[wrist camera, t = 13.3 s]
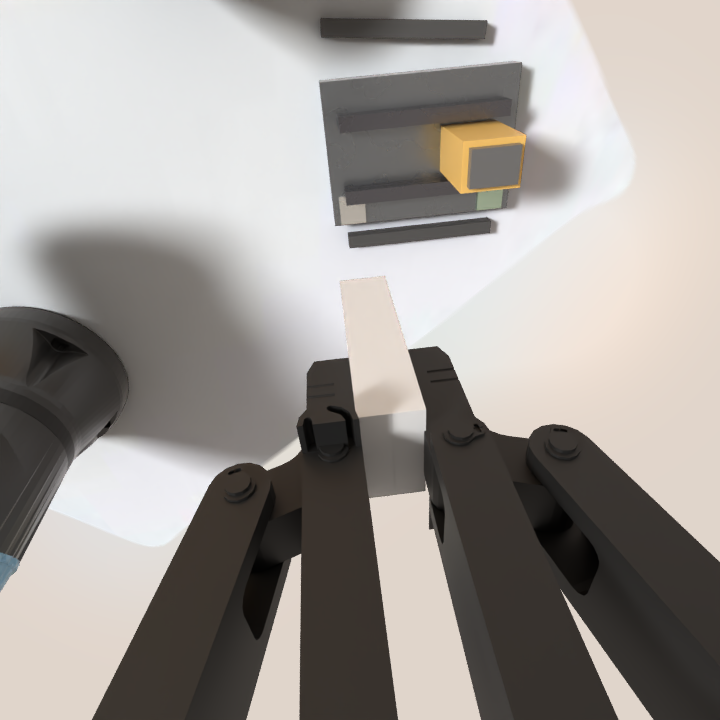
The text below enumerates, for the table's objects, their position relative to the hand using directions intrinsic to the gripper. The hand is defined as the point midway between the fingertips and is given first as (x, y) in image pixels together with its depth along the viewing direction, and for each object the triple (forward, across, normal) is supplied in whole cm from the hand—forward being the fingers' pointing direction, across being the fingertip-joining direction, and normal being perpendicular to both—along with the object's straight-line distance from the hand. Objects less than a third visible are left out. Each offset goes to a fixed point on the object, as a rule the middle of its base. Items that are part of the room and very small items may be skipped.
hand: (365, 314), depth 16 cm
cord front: (+24, +6, +8) cm, 26 cm away
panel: (+24, +6, 0) cm, 25 cm away
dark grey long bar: (+24, +6, -7) cm, 26 cm away
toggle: (+23, +10, 0) cm, 25 cm away
